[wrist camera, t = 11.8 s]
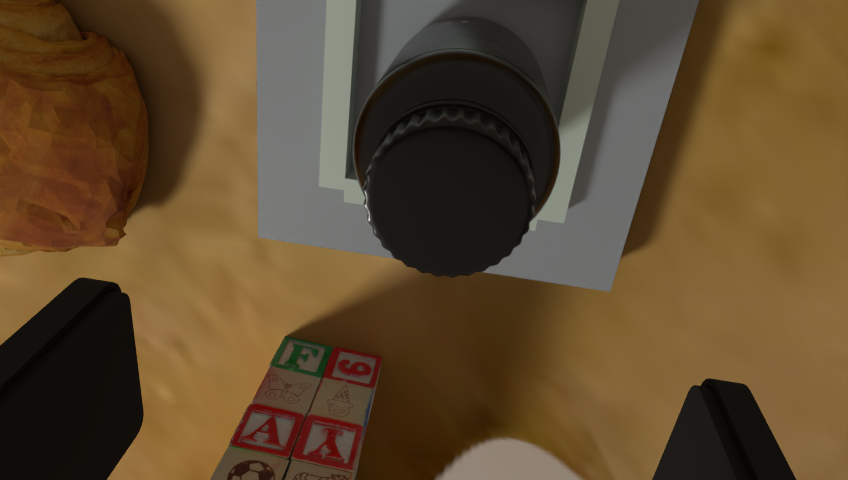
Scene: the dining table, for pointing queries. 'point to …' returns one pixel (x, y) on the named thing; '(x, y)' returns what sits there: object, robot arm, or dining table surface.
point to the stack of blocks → (305, 416)
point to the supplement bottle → (457, 148)
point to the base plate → (566, 85)
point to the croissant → (65, 133)
